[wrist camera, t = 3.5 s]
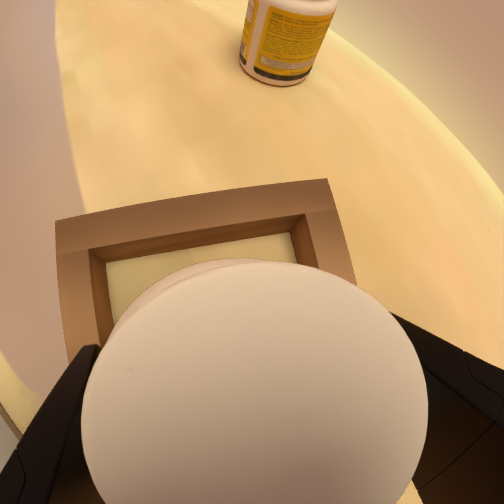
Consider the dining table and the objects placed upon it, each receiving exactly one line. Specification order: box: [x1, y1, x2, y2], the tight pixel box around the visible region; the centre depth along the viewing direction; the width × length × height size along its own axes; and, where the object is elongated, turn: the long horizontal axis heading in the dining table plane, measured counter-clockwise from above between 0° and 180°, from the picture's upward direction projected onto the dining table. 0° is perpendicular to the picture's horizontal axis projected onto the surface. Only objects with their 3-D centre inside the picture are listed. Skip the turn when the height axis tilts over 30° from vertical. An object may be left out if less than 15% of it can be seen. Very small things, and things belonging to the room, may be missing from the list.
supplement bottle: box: [239, 0, 337, 86], centre depth 15 cm, size 5×5×8 cm
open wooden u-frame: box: [55, 178, 357, 364], centre depth 12 cm, size 15×12×2 cm
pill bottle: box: [81, 258, 428, 504], centre depth 9 cm, size 6×6×11 cm
